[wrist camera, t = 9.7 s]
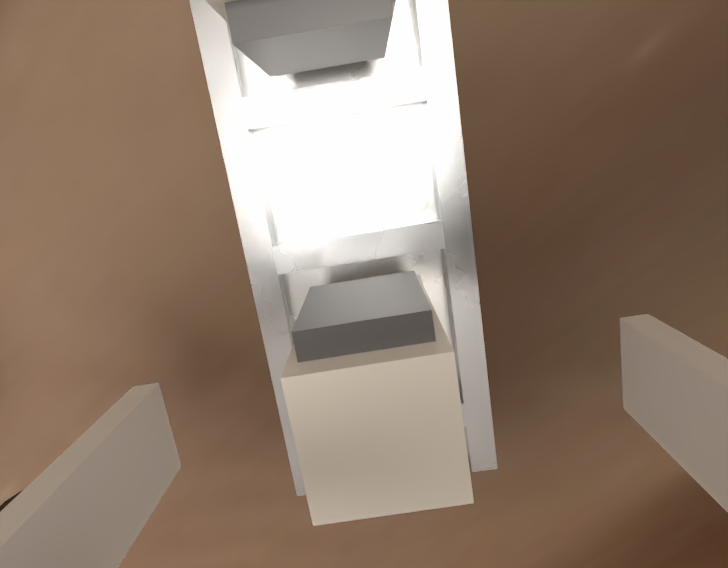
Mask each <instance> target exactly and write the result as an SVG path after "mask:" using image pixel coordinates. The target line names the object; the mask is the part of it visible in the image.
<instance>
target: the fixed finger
mask: <svg viewBox="0 0 728 568" xmlns="http://www.w3.org/2000/svg"><path fill="white" fill-rule="evenodd" d="M205 1H206V2H207V3H208V4H209V5H210V6H211V7H212V8H213V9H214V10H215V11H216V12H217V13H218V14H219V15H220V16H221V17H222V18H223V19H224V20H225V21H226V22H227V23H228V24H229V29H230V34H231V38H232V43H233V45H234V46H235V47H236V48H238V49H239V50H240V51H241V52H242V53H243V54H245V55H246V56H247V57H248V58H249V59H250V60H251V61H253V62H254V63H255V64H256V65H257V66H258V67H259V68H261V69H262V70H263V71H264V72H265V73H266V74H267V75H269V76H270V77H274V76H280V75H286V74H292V73H298V72H304V71H310V70H316V69H322V68H327V67H333V66H339V65H345V64H351V63H357V62H363V61H369V60H375V59H381V58H385V54H386V49H387V44H388V39H389V34H390V29H391V24H392V19H393V14H394V9H395V4H396V0H205Z"/></svg>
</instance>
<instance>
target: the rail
mask: <svg viewBox="0 0 728 568" xmlns="http://www.w3.org/2000/svg"><path fill="white" fill-rule="evenodd" d="M189 1H190V5H191V10H192V15H193V19H194V24H195V28H196V33H197V38H198V42H199V47H200V51H201V56H202V61H203V65H204V70H205V74H206V79H207V84H208V88H209V93H210V97H211V102H212V107H213V111H214V116H215V120H216V125H217V130H218V134H219V139H220V144H221V148H222V153H223V157H224V162H225V167H226V171H227V176H228V180H229V185H230V190H231V194H232V199H233V203H234V208H235V213H236V217H237V222H238V226H239V231H240V236H241V240H242V245H243V249H244V254H245V259H246V263H247V268H248V273H249V277H250V282H251V286H252V291H253V296H254V300H255V305H256V309H257V314H258V319H259V323H260V328H261V332H262V337H263V342H264V346H265V351H266V355H267V360H268V365H269V369H270V374H271V379H272V383H273V388H274V392H275V397H276V402H277V406H278V411H279V415H280V420H281V425H282V429H283V434H284V438H285V443H286V448H287V452H288V457H289V461H290V466H291V471H292V475H293V480H294V484H295V489H296V494H297V496H302V495H306V492H305V487H304V483H303V478H302V474H301V469H300V465H299V460H298V455H297V451H296V446H295V442H294V437H293V433H292V428H291V424H290V419H289V415H288V410H287V406H286V401H285V397H284V392H283V388H282V383H281V379H280V378H281V375H282V373H283V370H284V368H285V365H286V362H287V360H288V357H289V355H290V352H291V349H292V347H293V344H294V343H293V338H292V333H291V331H292V329H293V327H294V324H295V322H296V320H297V317H298V315H299V313H300V310H301V308H302V305H303V303H304V301H305V298H306V296H307V294H308V291H309V289H310V287H313V286H320V285H326V284H332V283H338V282H344V281H351V280H357V279H363V278H369V277H375V276H382V275H388V274H394V273H400V272H407V271H413V270H414V271H415V274H418V275H419V277H420V279H421V282H422V284H423V286H424V288H425V290H426V292H427V294H428V297H429V299H430V301H431V303H432V305H433V307H434V309H435V312H436V314H437V316H438V318H439V320H440V322H441V325H442V327H443V329H444V331H445V333H446V335H447V337H448V340H449V342H450V344H451V346H452V348H453V350H454V355H455V362H456V370H457V378H458V385H459V393H460V400H461V408H462V416H463V423H464V431H465V439H466V446H467V454H468V462H469V465H470V467H471V470H472V472H477V471H485V470H492V469H498V468H497V459H496V450H495V440H494V431H493V421H492V412H491V402H490V393H489V384H488V374H487V365H486V355H485V346H484V336H483V327H482V318H481V308H480V299H479V289H478V280H477V271H476V261H475V252H474V242H473V233H472V223H471V214H470V205H469V195H468V186H467V176H466V167H465V157H464V148H463V139H462V129H461V120H460V110H459V101H458V91H457V82H456V73H455V63H454V54H453V44H452V35H451V25H450V16H449V7H448V0H396V4H395V9H394V14H393V19H392V24H391V29H390V34H389V39H388V44H387V49H386V54H385V58H381V59H375V60H369V61H363V62H357V63H351V64H345V65H339V66H333V67H327V68H322V69H316V70H310V71H304V72H298V73H292V74H286V75H280V76H274V77H270V76H269V75H267V74H266V73H265V72H264V71H263V70H262V69H261V68H259V67H258V66H257V65H256V64H255V63H254V62H253V61H251V60H250V59H249V58H248V57H247V56H246V55H245V54H243V53H242V52H241V51H240V50H239V49H238V48H236V47H235V46H234V45H233V43H232V38H231V34H230V29H229V24H228V23H227V22H226V21H225V20H224V19H223V18H222V17H221V16H220V15H219V14H218V13H217V12H216V11H215V10H214V9H213V8H212V7H211V6H210V5H209V4H208V3H207V2H206V1H205V0H189Z"/></svg>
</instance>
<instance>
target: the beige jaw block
mask: <svg viewBox="0 0 728 568" xmlns="http://www.w3.org/2000/svg"><path fill="white" fill-rule="evenodd" d="M291 333H292V338H293V343H294V344H293V347H292V349H291V352H290V355H289V357H288V360H287V362H286V365H285V368H284V370H283V373H282V375H281V378H280V379H281V383H282V388H283V392H284V397H285V401H286V406H287V410H288V415H289V419H290V424H291V428H292V433H293V437H294V442H295V446H296V451H297V455H298V460H299V465H300V469H301V474H302V478H303V483H304V487H305V492H306V496H307V501H308V505H309V510H310V514H311V519H312V523H313V526H316V525H323V524H330V523H337V522H345V521H352V520H359V519H366V518H373V517H380V516H387V515H394V514H401V513H408V512H415V511H422V510H429V509H436V508H443V507H450V506H457V505H464V504H472V503H474V500H473V492H472V485H471V477H470V469H469V462H468V454H467V446H466V439H465V431H464V423H463V416H462V408H461V400H460V393H459V385H458V378H457V370H456V362H455V355H454V350H453V348H452V346H451V344H450V342H449V340H448V337H447V335H446V333H445V331H444V329H443V327H442V325H441V322H440V320H439V318H438V316H437V314H436V312H435V309H434V307H433V305H432V303H431V301H430V299H429V297H428V294H427V292H426V290H425V288H424V286H423V284H422V282H421V279H420V277H419V275H418V274H415V271H414V270H413V271H407V272H400V273H394V274H388V275H382V276H375V277H369V278H363V279H357V280H351V281H344V282H338V283H332V284H326V285H320V286H313V287H310V289H309V291H308V294H307V296H306V298H305V301H304V303H303V305H302V308H301V310H300V313H299V315H298V317H297V320H296V322H295V324H294V327H293V329H292V331H291Z"/></svg>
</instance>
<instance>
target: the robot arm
mask: <svg viewBox="0 0 728 568" xmlns="http://www.w3.org/2000/svg"><path fill="white" fill-rule="evenodd" d="M620 339H621V365H622V390H623V409H624V410H625V411H626V412H627V413H628V414H629V415H630V416H631V417H632V418H633V419H634V420H635V421H636V422H637V423H638V424H639V425H640V426H641V427H642V428H643V429H644V430H645V431H646V432H647V433H648V434H649V435H650V436H651V437H652V438H653V439H654V440H655V441H656V442H657V443H658V444H659V445H660V446H661V447H662V448H663V449H664V450H665V451H666V452H667V453H668V454H669V455H670V456H671V457H672V458H673V459H675V460H676V461H677V462H678V463H679V464H680V465H681V466H682V467H683V468H684V469H685V470H686V471H687V472H688V473H689V474H690V475H691V476H692V477H693V478H694V479H695V480H696V481H697V482H698V483H699V484H700V485H701V486H702V487H703V488H704V489H705V490H706V491H707V492H708V493H709V494H710V495H711V496H712V497H713V498H714V499H715V500H716V501H717V502H718V503H719V504H720V505H721V506H722V507H723V508H724V509H725V510H726V511H727V512H728V359H727V358H726V357H724V356H722V355H720V354H718V353H717V352H715V351H713V350H711V349H710V348H708V347H706V346H704V345H702V344H701V343H699V342H697V341H695V340H694V339H692V338H690V337H688V336H687V335H685V334H683V333H681V332H679V331H678V330H676V329H674V328H672V327H671V326H669V325H667V324H665V323H663V322H662V321H660V320H658V319H656V318H655V317H653V316H651V315H649V314H643V315H636V316H629V317H622V318H620ZM180 468H181V463H180V459H179V455H178V452H177V448H176V444H175V441H174V437H173V434H172V430H171V426H170V423H169V419H168V415H167V412H166V408H165V404H164V401H163V397H162V393H161V390H160V386H159V383H153V384H146V385H138V386H133V387H132V388H131V389H130V390H129V391H127V392H126V393H125V394H124V395H123V396H122V397H121V398H120V399H119V400H118V401H117V402H116V403H115V404H114V405H113V406H112V407H111V408H110V409H108V410H107V411H106V412H105V413H104V414H103V415H102V416H101V417H100V418H99V419H98V420H97V421H96V422H95V423H94V424H93V425H92V426H90V427H89V428H88V429H87V430H86V431H85V432H84V433H83V434H82V435H81V436H80V437H79V438H78V439H77V440H76V441H75V442H74V443H73V444H71V445H70V446H69V447H68V448H67V449H66V450H65V451H64V452H63V453H62V454H61V455H60V456H59V457H58V458H57V459H56V460H55V461H53V462H52V463H51V464H50V465H49V466H48V467H47V468H46V469H45V470H44V471H43V472H42V473H41V474H40V475H39V476H38V477H37V478H36V479H34V480H33V481H32V482H31V483H30V484H29V485H28V486H27V487H26V488H25V489H24V490H22V491H21V492H19V493H17V494H16V495H14V496H13V497H11V498H10V499H8V500H7V501H5V502H4V503H3V504H2V505H1V506H0V568H118V567H119V565H120V564H121V562H122V561H123V559H124V557H125V556H126V554H127V553H128V551H129V549H130V548H131V546H132V545H133V543H134V541H135V540H136V538H137V537H138V535H139V533H140V532H141V530H142V529H143V527H144V525H145V524H146V522H147V521H148V519H149V517H150V516H151V514H152V513H153V511H154V509H155V508H156V506H157V505H158V503H159V501H160V500H161V498H162V497H163V495H164V493H165V492H166V490H167V489H168V487H169V485H170V484H171V482H172V481H173V479H174V477H175V476H176V474H177V473H178V471H179V469H180Z"/></svg>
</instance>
